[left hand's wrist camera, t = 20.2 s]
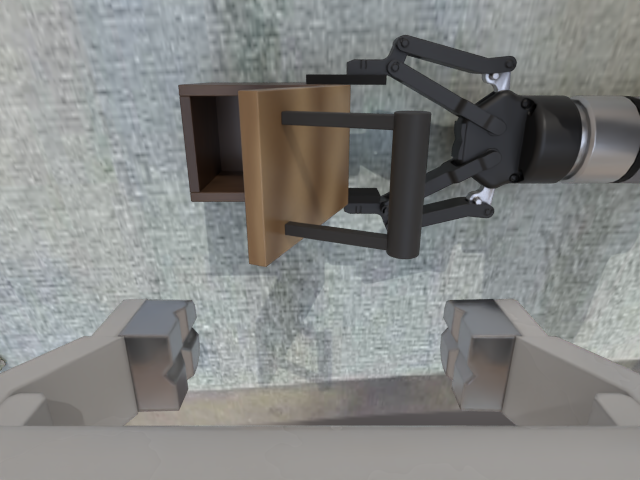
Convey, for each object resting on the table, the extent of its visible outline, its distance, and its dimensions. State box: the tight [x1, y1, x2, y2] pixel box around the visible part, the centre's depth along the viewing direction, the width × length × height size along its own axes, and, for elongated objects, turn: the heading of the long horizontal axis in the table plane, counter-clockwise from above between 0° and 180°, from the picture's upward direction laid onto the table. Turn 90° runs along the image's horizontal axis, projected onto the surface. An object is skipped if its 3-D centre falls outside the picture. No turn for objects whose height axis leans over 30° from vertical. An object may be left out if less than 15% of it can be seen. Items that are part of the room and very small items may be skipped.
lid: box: [238, 85, 431, 267], centre depth 27 cm, size 14×9×9 cm
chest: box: [178, 83, 342, 202], centre depth 40 cm, size 13×9×10 cm
